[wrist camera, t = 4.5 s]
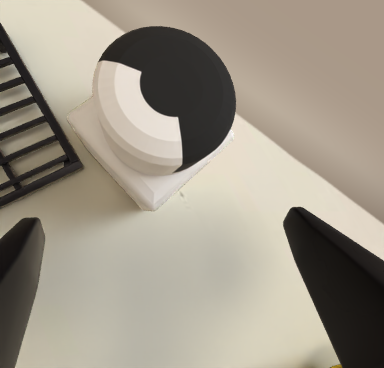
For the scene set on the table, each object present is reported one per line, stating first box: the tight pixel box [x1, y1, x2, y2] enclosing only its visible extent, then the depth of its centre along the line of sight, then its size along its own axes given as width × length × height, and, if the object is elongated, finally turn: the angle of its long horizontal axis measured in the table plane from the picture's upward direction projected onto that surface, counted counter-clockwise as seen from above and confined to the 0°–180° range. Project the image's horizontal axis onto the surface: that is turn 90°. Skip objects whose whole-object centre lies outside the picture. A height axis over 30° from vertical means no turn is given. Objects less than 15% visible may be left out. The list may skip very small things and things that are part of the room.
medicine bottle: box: [67, 26, 236, 211], centre depth 16 cm, size 7×7×12 cm
